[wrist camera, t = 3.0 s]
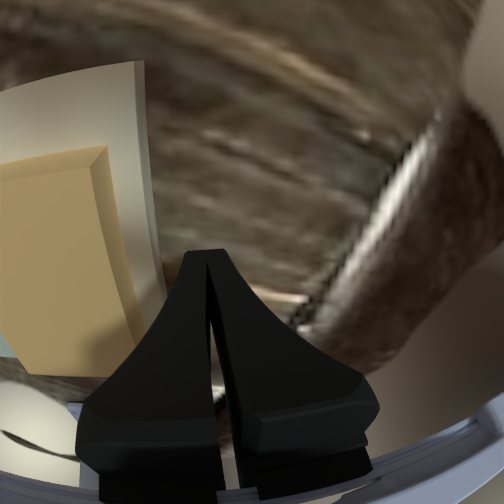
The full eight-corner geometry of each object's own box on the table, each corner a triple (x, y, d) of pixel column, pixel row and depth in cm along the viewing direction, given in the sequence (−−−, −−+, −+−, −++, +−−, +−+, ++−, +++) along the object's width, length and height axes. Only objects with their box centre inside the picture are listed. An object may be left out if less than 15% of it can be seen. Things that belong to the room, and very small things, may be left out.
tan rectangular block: (148, 340, 14) (147, 376, 12) (38, 341, 13) (29, 373, 11) (107, 144, 9) (89, 167, 7) (-33, 173, 8) (-62, 197, 6)
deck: (176, 340, 17) (177, 369, 16) (49, 343, 16) (42, 369, 14) (144, 60, 9) (134, 61, 7) (-33, 104, 8) (-61, 117, 6)
